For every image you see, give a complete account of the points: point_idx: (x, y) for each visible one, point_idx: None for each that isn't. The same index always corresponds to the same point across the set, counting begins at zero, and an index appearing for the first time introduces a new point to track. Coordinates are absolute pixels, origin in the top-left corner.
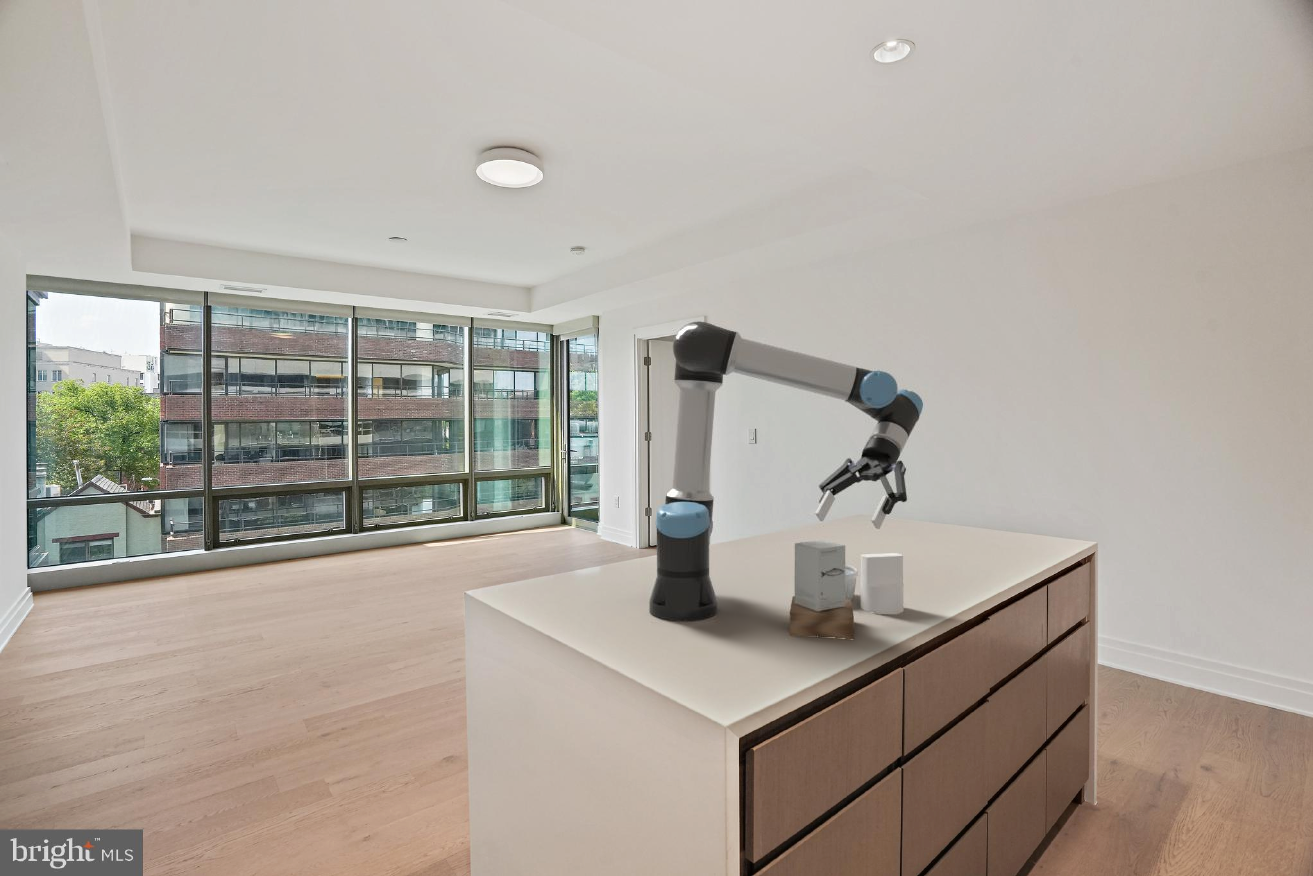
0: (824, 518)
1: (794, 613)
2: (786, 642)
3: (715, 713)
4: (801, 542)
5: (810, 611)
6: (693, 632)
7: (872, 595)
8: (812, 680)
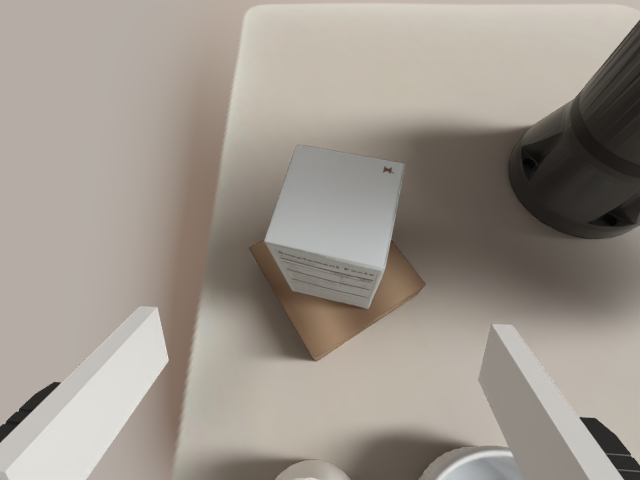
0: (485, 394)
1: None
2: None
3: (265, 8)
4: (394, 179)
5: None
6: (462, 120)
7: (307, 470)
8: (232, 108)
